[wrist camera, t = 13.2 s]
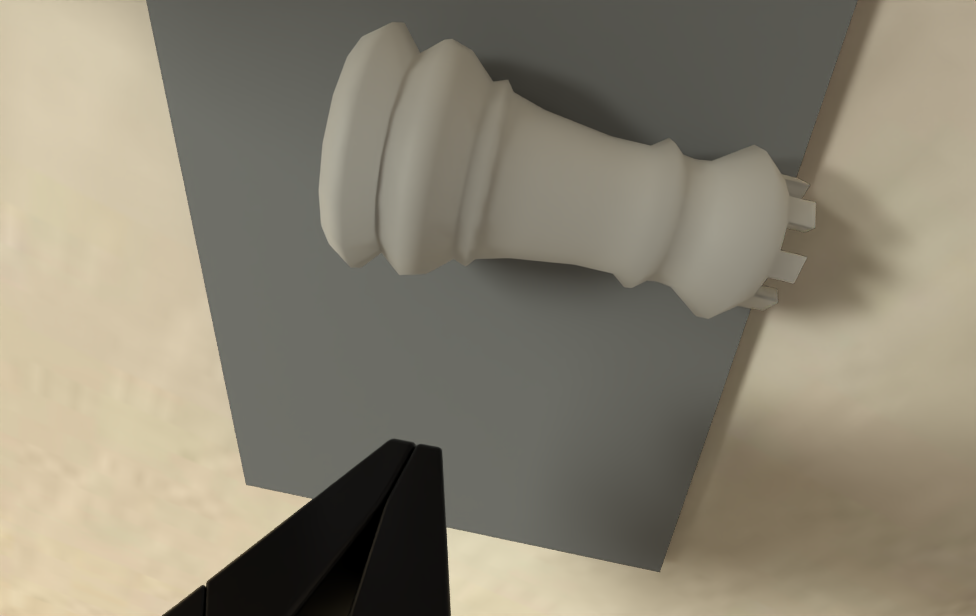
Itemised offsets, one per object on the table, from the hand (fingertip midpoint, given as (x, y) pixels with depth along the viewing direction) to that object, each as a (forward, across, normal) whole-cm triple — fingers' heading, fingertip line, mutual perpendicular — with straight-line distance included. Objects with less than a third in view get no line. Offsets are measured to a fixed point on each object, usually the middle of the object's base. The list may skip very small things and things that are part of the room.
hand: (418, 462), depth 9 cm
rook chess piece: (+4, +2, -4) cm, 6 cm away
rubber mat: (+6, +1, 0) cm, 7 cm away
